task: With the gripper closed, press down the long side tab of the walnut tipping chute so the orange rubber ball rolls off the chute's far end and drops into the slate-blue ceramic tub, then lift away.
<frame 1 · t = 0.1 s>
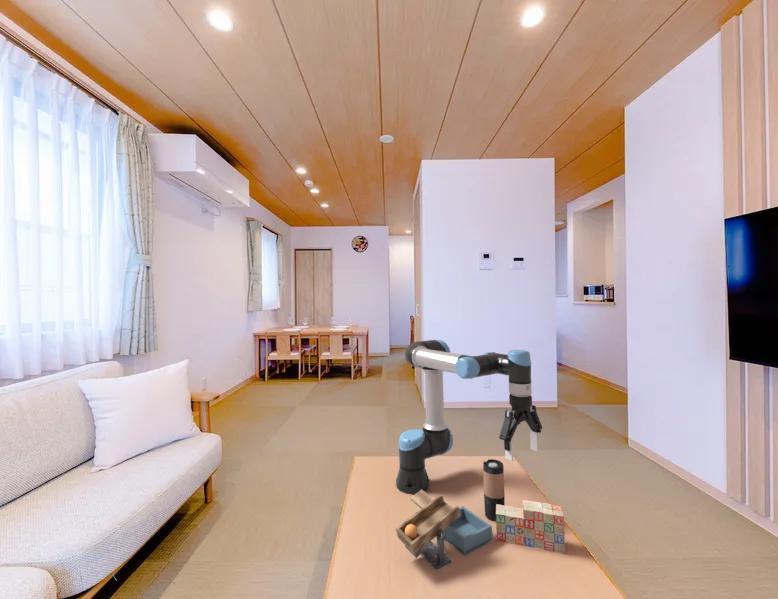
hand: (522, 454, 121), 28 cm above the table, fingers open, 13 cm apart
chute: (420, 517, 117), point 9 cm above the table, hinge at -15.0°, touching ball
tub: (463, 536, 120), on the table
stack of blocks: (529, 541, 117), on the table
travel mug: (494, 516, 131), on the table
ball: (411, 531, 109), point 10 cm above the table, tilted 6°, touching chute
stand: (430, 553, 112), on the table
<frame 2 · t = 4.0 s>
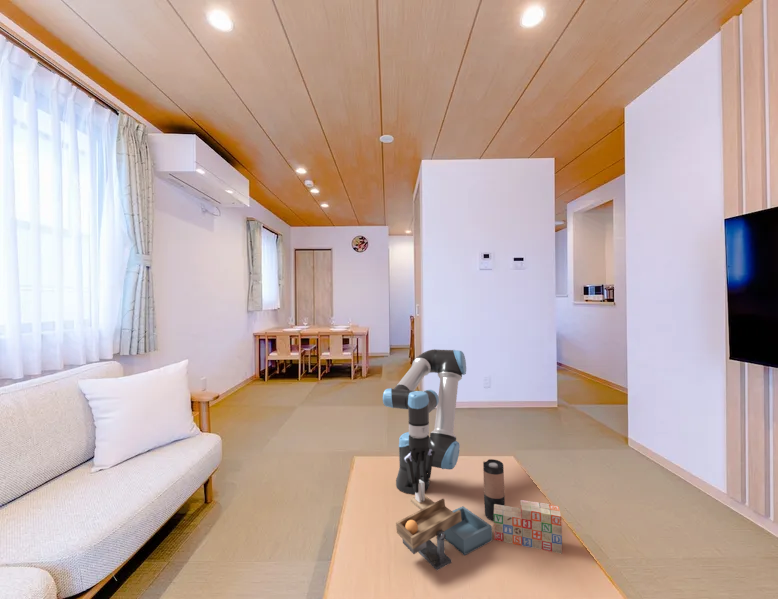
hand: (420, 499, 125), 10 cm above the table, fingers closed
chute: (420, 518, 117), point 9 cm above the table, hinge at -4.5°, touching ball, gripper
ball: (411, 527, 109), point 11 cm above the table, touching chute
everything else where it was.
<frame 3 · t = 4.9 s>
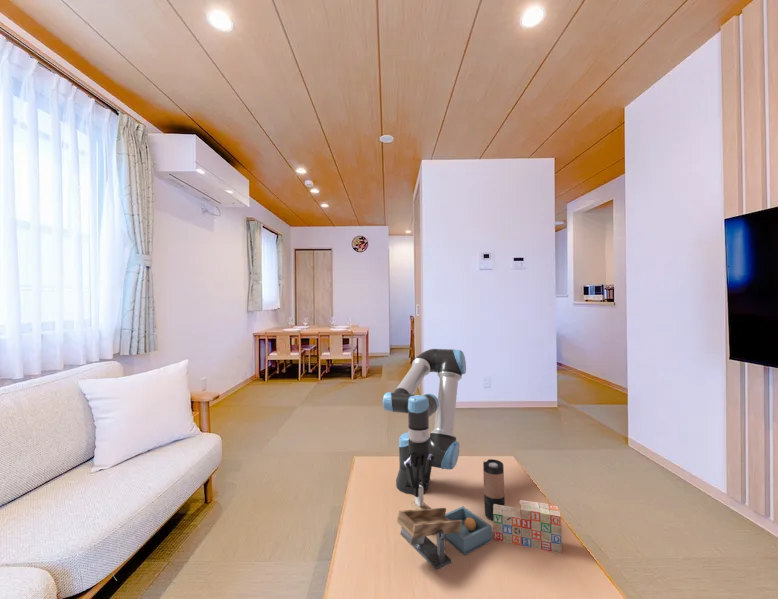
hand: (419, 504, 125), 9 cm above the table, fingers closed
chute: (419, 518, 117), point 9 cm above the table, hinge at 15.3°, touching gripper
ball: (470, 524, 122), point 3 cm above the table, tilted 70°, touching tub
everything else where it was.
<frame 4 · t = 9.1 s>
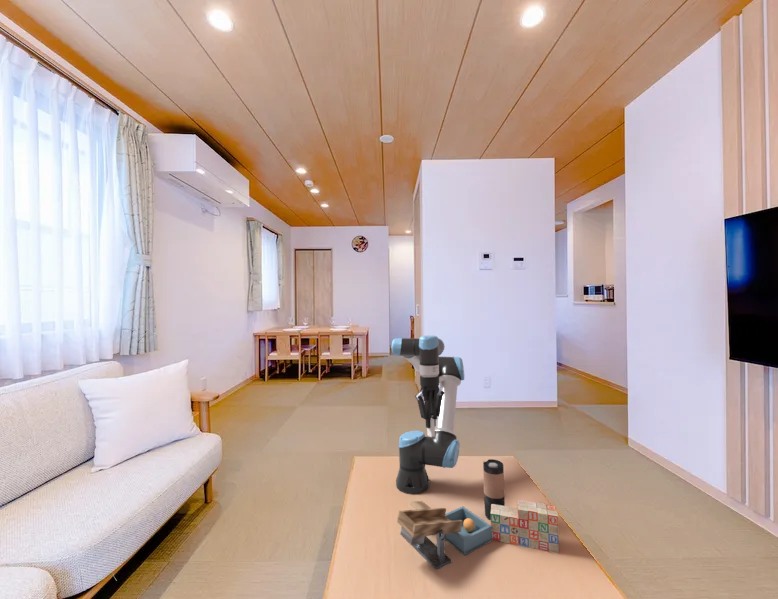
hand: (431, 435, 134), 30 cm above the table, fingers closed
chute: (419, 518, 117), point 9 cm above the table, hinge at 15.3°
ball: (469, 524, 122), point 3 cm above the table, tilted 52°, touching tub
at the end: ball inside the target area on the tub (2.6 cm from its centre), point 3.0 cm above the tub's base; ball touching tub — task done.
